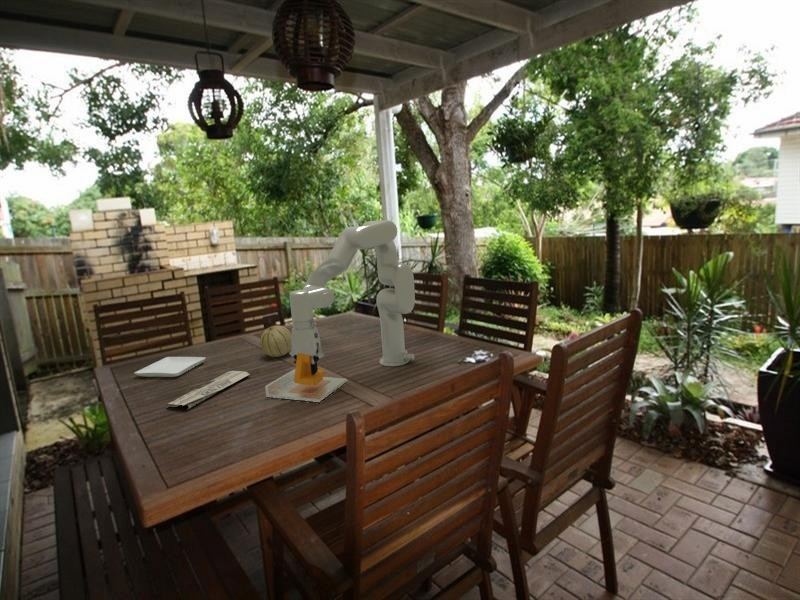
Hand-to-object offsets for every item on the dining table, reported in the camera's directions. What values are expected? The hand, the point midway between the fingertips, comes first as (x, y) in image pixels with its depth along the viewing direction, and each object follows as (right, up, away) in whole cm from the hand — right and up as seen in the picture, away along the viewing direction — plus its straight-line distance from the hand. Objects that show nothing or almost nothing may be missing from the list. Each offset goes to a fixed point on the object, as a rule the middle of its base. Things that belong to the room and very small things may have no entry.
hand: (308, 372), depth 167 cm
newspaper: (-38, -9, +7) cm, 40 cm away
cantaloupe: (-23, 0, +47) cm, 52 cm away
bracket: (+1, -3, +1) cm, 4 cm away
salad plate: (-68, -5, +36) cm, 77 cm away
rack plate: (-1, -7, +2) cm, 7 cm away
